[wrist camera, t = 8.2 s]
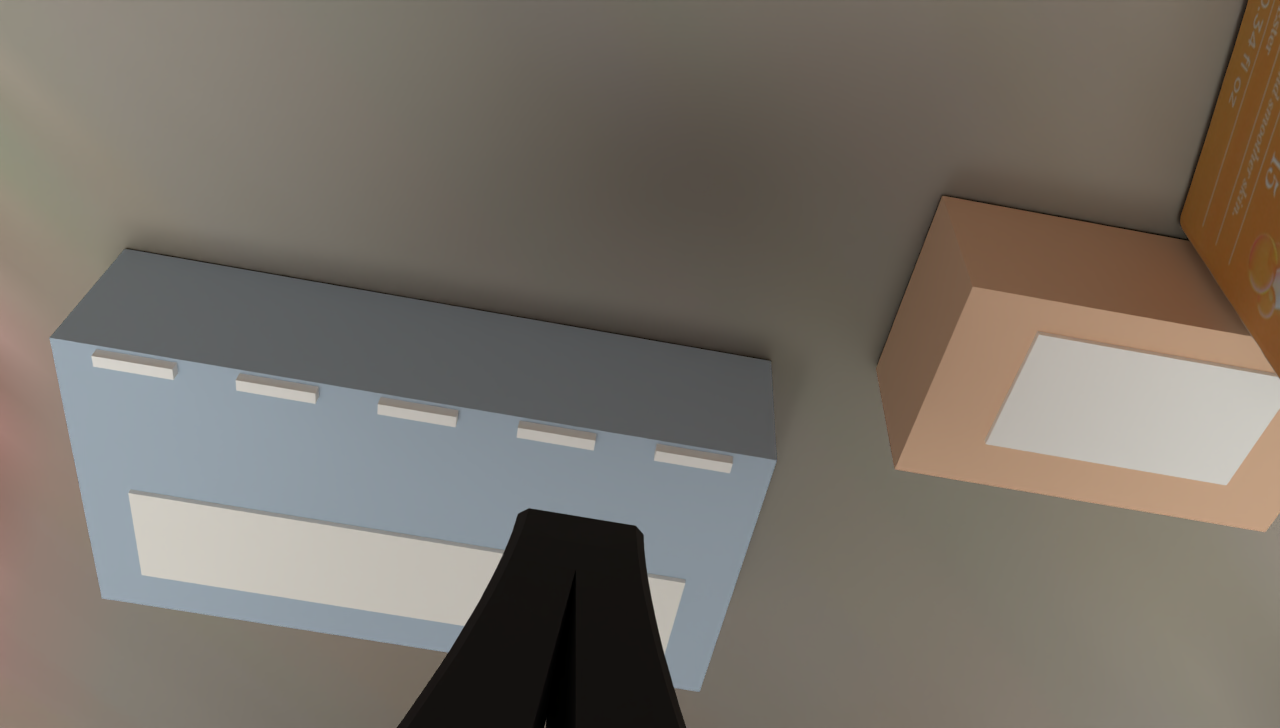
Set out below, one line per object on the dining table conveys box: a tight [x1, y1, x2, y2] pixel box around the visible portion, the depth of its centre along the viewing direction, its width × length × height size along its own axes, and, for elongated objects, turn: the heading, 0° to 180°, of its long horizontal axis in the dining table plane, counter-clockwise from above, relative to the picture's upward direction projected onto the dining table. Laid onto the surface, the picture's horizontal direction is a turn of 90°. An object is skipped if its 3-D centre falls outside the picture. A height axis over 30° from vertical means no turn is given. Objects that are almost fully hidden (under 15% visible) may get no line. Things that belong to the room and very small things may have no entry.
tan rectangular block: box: [876, 196, 1280, 532], centre depth 20 cm, size 4×7×3 cm, turn 80°
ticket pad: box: [50, 249, 777, 692], centre depth 23 cm, size 7×13×3 cm, turn 80°
